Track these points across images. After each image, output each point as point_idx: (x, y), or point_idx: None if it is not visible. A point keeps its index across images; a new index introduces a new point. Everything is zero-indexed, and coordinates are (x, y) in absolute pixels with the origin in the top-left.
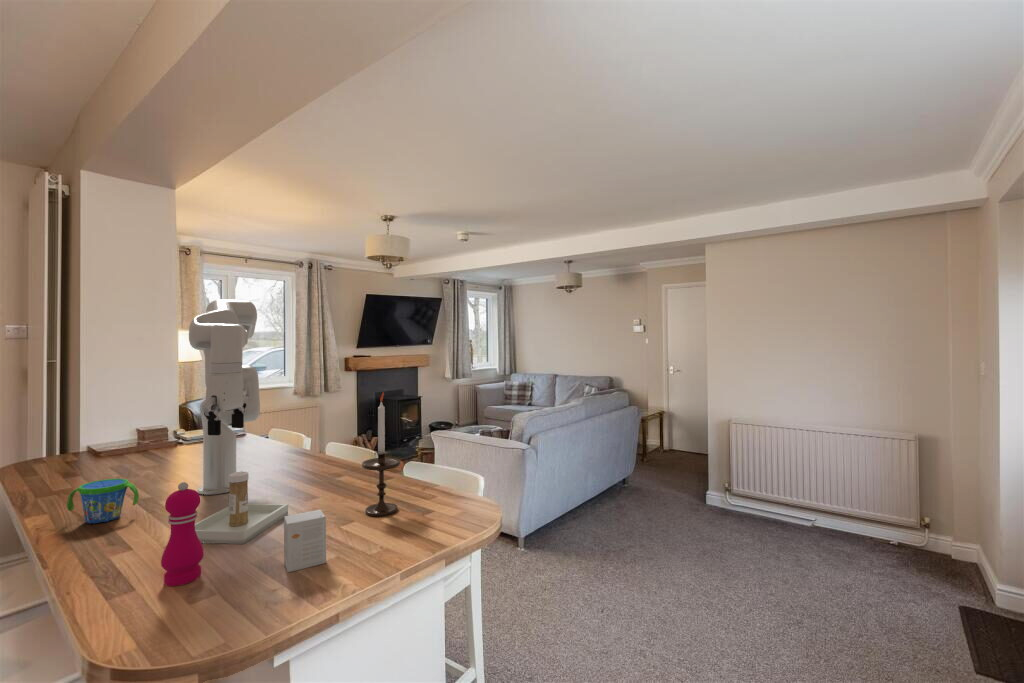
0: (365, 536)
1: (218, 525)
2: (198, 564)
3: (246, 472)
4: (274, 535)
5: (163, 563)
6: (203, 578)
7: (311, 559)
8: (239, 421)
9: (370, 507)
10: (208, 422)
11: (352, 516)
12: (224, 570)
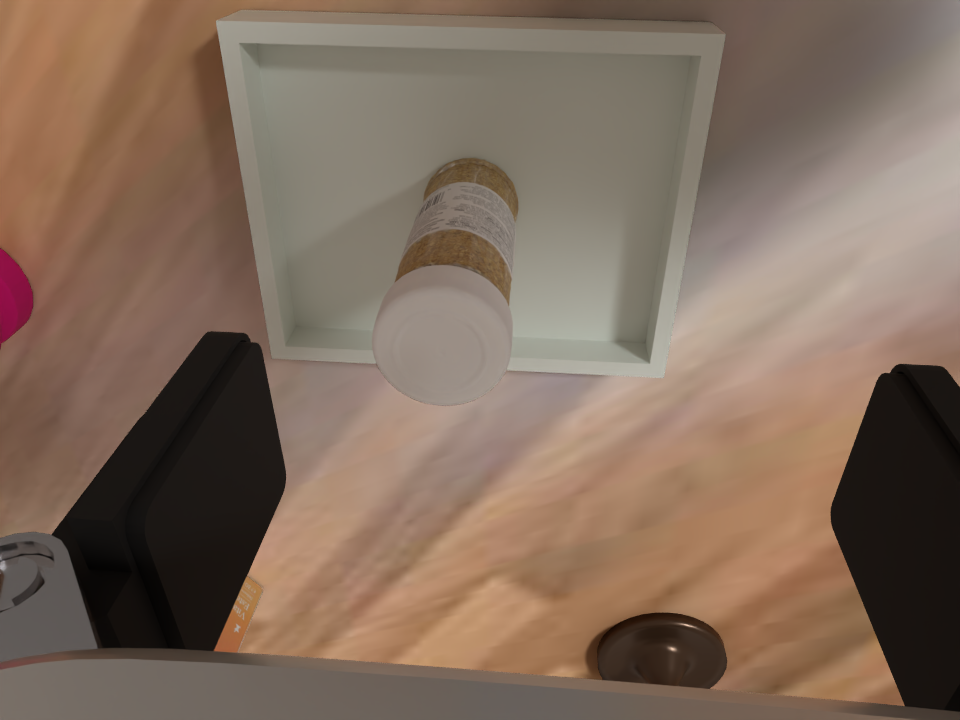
0: (414, 653)
1: (441, 100)
2: (10, 325)
3: (474, 391)
4: (392, 399)
5: None
6: (9, 348)
7: None
8: (879, 578)
9: (682, 630)
10: (103, 490)
11: (608, 585)
12: (79, 380)
